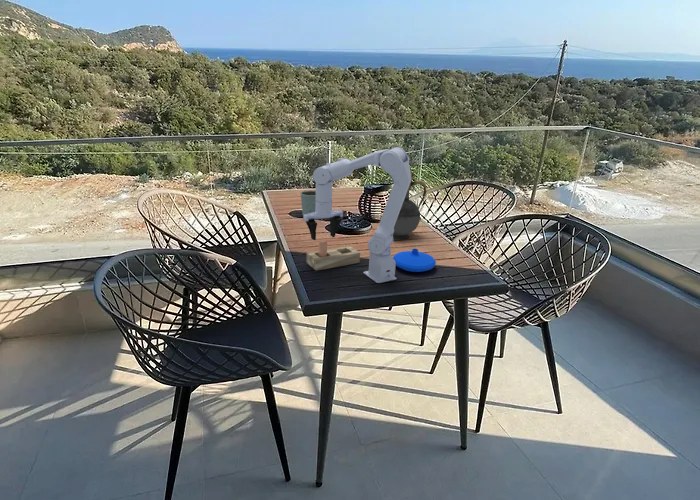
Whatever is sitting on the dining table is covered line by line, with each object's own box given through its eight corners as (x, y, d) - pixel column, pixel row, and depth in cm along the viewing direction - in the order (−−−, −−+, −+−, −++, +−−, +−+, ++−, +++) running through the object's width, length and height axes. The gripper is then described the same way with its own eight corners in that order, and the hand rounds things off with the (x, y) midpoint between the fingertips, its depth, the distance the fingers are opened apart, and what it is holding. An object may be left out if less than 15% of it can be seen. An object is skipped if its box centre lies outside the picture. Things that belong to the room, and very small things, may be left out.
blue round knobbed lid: (401, 278, 157) (403, 259, 154) (385, 261, 171) (387, 243, 168) (442, 274, 161) (445, 256, 158) (423, 258, 175) (425, 241, 173)
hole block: (359, 262, 168) (360, 252, 166) (315, 270, 159) (316, 260, 158) (349, 255, 174) (349, 245, 173) (306, 262, 166) (306, 252, 164)
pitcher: (378, 234, 199) (382, 166, 188) (415, 230, 206) (422, 165, 195) (389, 242, 190) (394, 171, 179) (428, 238, 197) (435, 169, 186)
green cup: (320, 220, 215) (320, 195, 211) (299, 219, 215) (299, 194, 211) (322, 214, 225) (322, 190, 220) (301, 213, 225) (301, 189, 220)
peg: (327, 265, 164) (328, 242, 161) (320, 266, 163) (320, 243, 160) (324, 262, 167) (325, 239, 163) (316, 263, 165) (317, 240, 162)
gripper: (336, 196, 163) (335, 231, 168) (299, 200, 156) (299, 236, 161) (346, 201, 157) (344, 237, 162) (308, 205, 150) (308, 243, 155)
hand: (323, 237), depth 161 cm, fingers open, 7 cm apart
